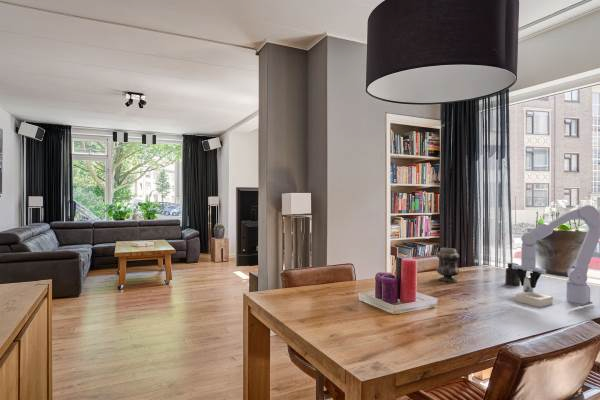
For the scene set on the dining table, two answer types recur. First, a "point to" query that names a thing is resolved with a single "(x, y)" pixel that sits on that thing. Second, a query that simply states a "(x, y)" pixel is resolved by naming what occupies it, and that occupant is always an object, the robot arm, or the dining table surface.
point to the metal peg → (527, 284)
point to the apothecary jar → (447, 264)
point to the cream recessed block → (533, 299)
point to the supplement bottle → (511, 276)
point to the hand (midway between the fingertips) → (528, 286)
